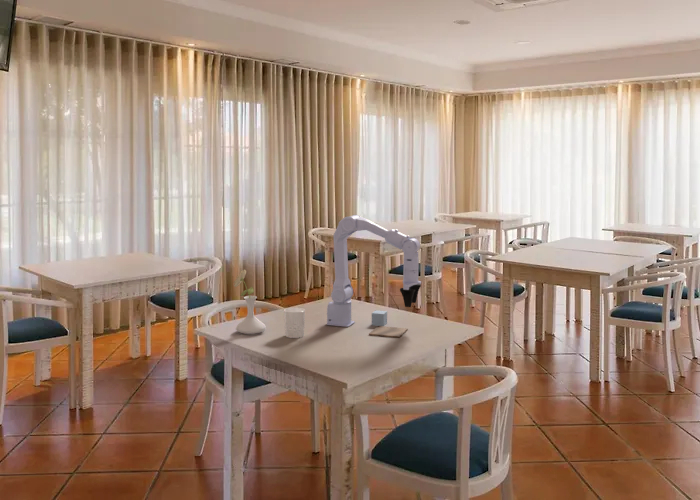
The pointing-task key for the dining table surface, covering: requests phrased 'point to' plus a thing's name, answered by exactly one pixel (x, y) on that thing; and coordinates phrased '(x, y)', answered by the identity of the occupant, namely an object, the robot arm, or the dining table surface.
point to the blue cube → (379, 318)
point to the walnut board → (388, 331)
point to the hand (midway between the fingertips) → (410, 304)
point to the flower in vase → (250, 322)
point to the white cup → (294, 322)
